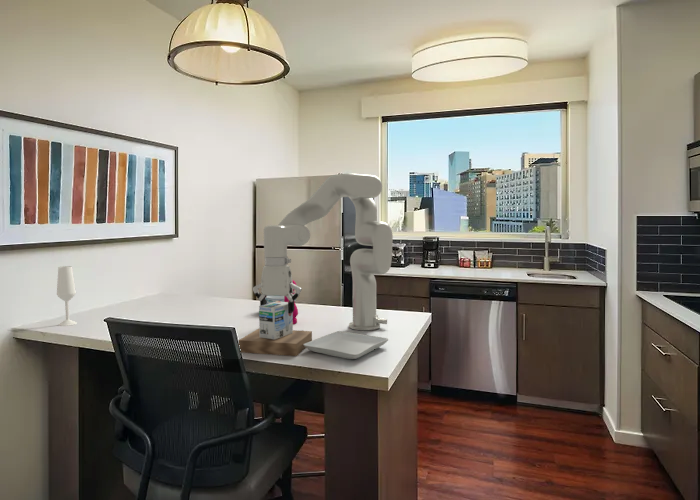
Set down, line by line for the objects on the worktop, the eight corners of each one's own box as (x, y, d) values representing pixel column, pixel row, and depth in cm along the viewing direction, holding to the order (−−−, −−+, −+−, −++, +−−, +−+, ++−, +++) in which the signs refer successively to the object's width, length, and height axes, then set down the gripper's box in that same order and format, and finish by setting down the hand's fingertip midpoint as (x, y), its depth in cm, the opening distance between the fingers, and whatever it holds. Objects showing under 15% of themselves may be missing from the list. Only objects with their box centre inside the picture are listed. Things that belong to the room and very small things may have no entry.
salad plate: (301, 353, 143) (301, 343, 142) (338, 338, 160) (338, 329, 160) (356, 365, 131) (356, 354, 131) (389, 348, 149) (389, 338, 149)
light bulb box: (274, 340, 143) (274, 307, 142) (258, 337, 146) (258, 305, 145) (293, 332, 152) (293, 302, 151) (277, 330, 155) (277, 300, 154)
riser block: (311, 342, 154) (311, 331, 154) (296, 356, 139) (296, 343, 139) (259, 339, 159) (259, 328, 158) (238, 352, 143) (238, 340, 143)
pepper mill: (294, 325, 179) (294, 277, 178) (278, 324, 181) (277, 276, 179) (300, 321, 186) (300, 274, 185) (284, 320, 188) (283, 274, 187)
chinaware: (258, 312, 205) (257, 296, 204) (280, 307, 217) (280, 291, 217) (281, 316, 196) (281, 299, 196) (303, 310, 209) (303, 294, 208)
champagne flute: (71, 321, 187) (69, 265, 186) (80, 323, 184) (78, 266, 182) (54, 324, 181) (52, 267, 180) (63, 326, 178) (60, 268, 176)
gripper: (304, 261, 149) (305, 310, 150) (256, 260, 152) (258, 309, 154) (296, 263, 141) (298, 315, 143) (247, 263, 145) (248, 314, 146)
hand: (277, 312), depth 148 cm, fingers open, 9 cm apart
